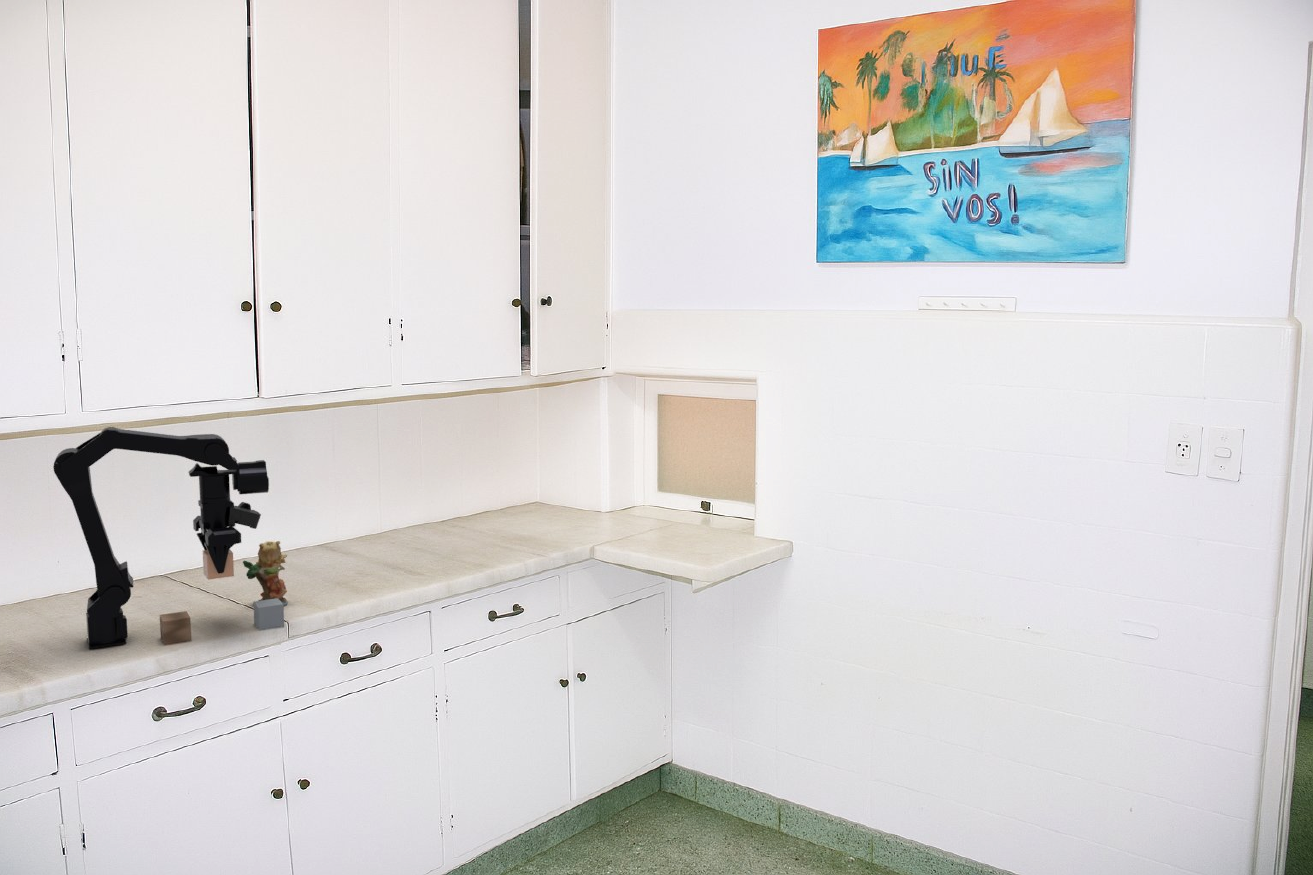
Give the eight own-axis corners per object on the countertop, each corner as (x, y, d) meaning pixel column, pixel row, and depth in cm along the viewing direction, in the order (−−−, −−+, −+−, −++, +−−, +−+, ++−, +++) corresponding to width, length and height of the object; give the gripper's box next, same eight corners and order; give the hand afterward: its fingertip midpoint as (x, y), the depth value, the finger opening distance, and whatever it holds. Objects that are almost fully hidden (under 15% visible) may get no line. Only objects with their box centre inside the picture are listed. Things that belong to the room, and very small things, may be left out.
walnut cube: (164, 645, 202) (162, 621, 202) (160, 638, 207) (159, 614, 206) (191, 641, 205) (190, 617, 204) (187, 634, 209) (186, 611, 209)
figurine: (293, 600, 234) (291, 536, 232) (282, 610, 226) (280, 544, 224) (253, 599, 233) (250, 535, 231) (241, 609, 226) (238, 543, 224)
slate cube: (259, 630, 212) (258, 607, 212) (254, 624, 216) (253, 601, 216) (284, 627, 215) (283, 604, 214) (278, 620, 219) (277, 598, 218)
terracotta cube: (208, 579, 208) (206, 555, 208) (203, 573, 212) (202, 550, 212) (234, 576, 211) (233, 552, 210) (229, 570, 215) (228, 547, 214)
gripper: (266, 500, 206) (269, 575, 208) (246, 485, 222) (249, 555, 224) (206, 505, 200) (210, 582, 202) (191, 490, 216) (194, 562, 218)
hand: (218, 570), depth 212 cm, fingers closed on terracotta cube, 5 cm apart
